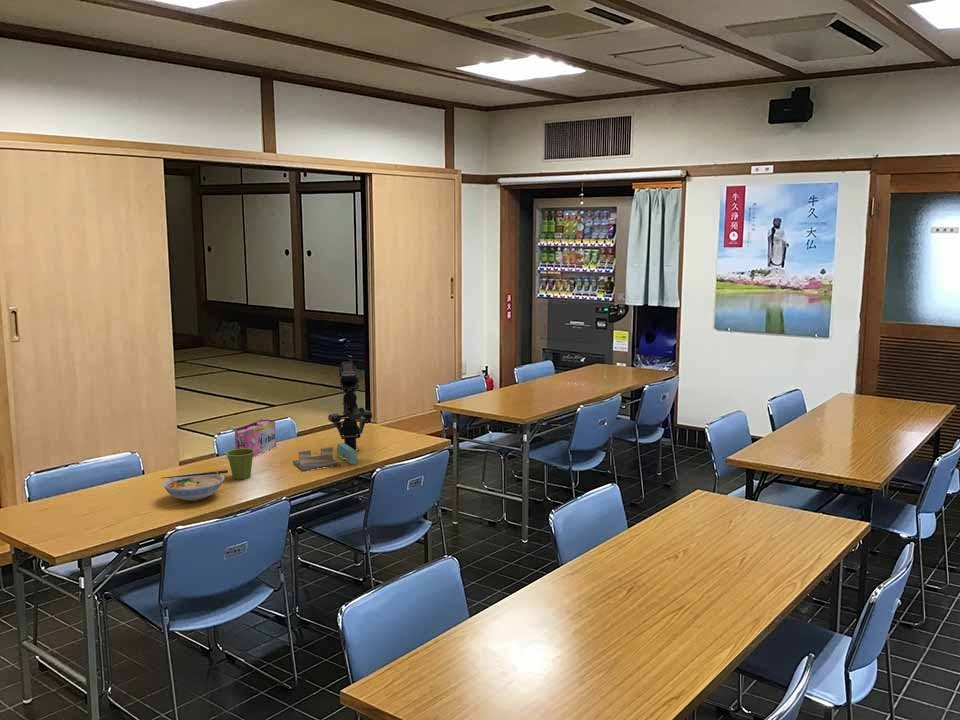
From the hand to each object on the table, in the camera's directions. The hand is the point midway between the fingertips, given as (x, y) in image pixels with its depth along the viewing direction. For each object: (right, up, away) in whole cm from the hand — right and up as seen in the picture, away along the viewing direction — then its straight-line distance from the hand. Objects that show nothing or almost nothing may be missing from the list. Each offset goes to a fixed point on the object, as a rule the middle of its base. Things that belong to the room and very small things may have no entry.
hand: (351, 435), depth 359 cm
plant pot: (-43, -17, -18) cm, 50 cm away
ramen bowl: (-53, -21, -46) cm, 73 cm away
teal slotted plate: (-3, -12, +8) cm, 15 cm away
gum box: (-49, -11, +24) cm, 56 cm away
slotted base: (-16, -13, +1) cm, 21 cm away
